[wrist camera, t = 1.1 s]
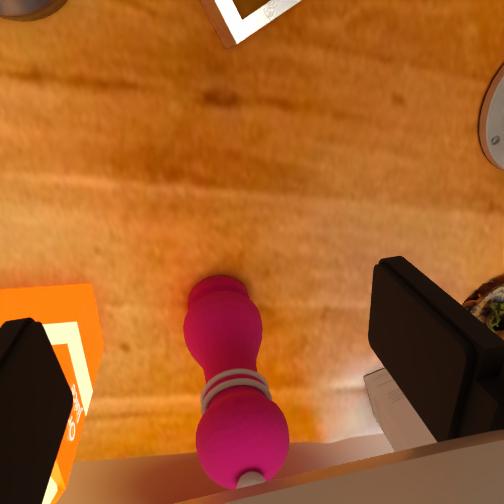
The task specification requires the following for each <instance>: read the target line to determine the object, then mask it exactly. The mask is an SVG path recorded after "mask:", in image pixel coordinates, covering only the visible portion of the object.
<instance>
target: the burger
mask: <svg viewBox="0 0 504 504" xmlns="http://www.w3.org/2000/svg"><path fill="white" fill-rule="evenodd" d="M476 292H478V293H479V295H478V297H479V299H477V300H470V301H466V302H464V304H462V306H463V307H464V308H465V309H467V310H468V311H469V312H470V313H471V314H473V315H474V316H475V317H476V318H477V319H479V320H480V321H481V322H482V323H484V324H485V325H486V326H487V327H488V328H490V329H491V330H492V331H493V332H494V333H496V334H497V335H498V336H499V337H501V338H502V339H503V340H504V283H503V284H499V283H496V282H494V281H491V280H489V283H486V284H484V283H483V284H482V286H481V287H480V288H479V289H478V291H476Z"/></svg>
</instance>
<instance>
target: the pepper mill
mask: <svg viewBox="0 0 504 504" xmlns="http://www.w3.org/2000/svg"><path fill="white" fill-rule="evenodd" d="M183 331H184V338H185V342H186V345H187V347H188V349H189V351H190V353H191V355H192V356H193V358H194V359H195V360H196V361H197V362H198V363H199V365H200V366H201V367H202V368H203V370H204V374H205V380H206V385H205V386H204V388H203V390H202V393H201V405H202V407H201V412H202V418H201V420H200V422H199V424H198V427H197V431H196V449H197V454H198V459H199V461H200V464H201V466H202V468H203V470H204V471H205V473H206V474H207V475H208V476H209V478H211V479H212V480H213V481H214V482H216V483H217V484H219V485H220V486H222V487H225V488H228V489H233V490H234V489H238V488H242V487H247V486H251V485H255V484H259V483H264V482H267V481H269V480H270V479H271V478H273V477H274V476H275V474H276V473H277V472H278V471H279V470H280V469H281V467H282V466H283V464H284V462H285V460H286V457H287V454H288V449H289V431H288V426H287V422H286V419H285V417H284V414H283V412H282V411H281V410H280V408H279V407H278V406H277V404H275V403H274V402H273V401H272V397H271V394H270V391H269V387H268V384H267V382H266V380H265V378H264V377H263V376H262V375H260V374H259V373H257V368H256V359H257V355H258V351H259V348H260V345H261V340H262V322H261V317H260V313H259V311H258V309H257V307H256V306H255V304H254V303H253V302H252V301H251V300H250V299H249V296H248V293H247V290H246V288H245V287H244V286H243V284H241V283H240V282H239V281H238V280H236V279H234V278H232V277H228V276H213V277H210V278H207V279H205V280H203V281H201V282H200V283H198V284H197V285H196V286H195V287H194V288H193V290H192V291H191V293H190V295H189V298H188V312H187V314H186V317H185V320H184V325H183Z"/></svg>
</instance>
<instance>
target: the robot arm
mask: <svg viewBox="0 0 504 504" xmlns="http://www.w3.org/2000/svg"><path fill="white" fill-rule="evenodd" d="M479 135H480V141H481V146H482V148H483V151H484V153H485V155H486V157H487V158H488V159H489V161H490V162H491V163H492V164H493V165H494V166H496V167H497V168H498V169H501V170H503V171H504V65H503V66H502V68H501V69H500V71H499V72H498V74H497V75H496V77H495V78H494V80H493V82H492V84H491V86H490V88H489V90H488V92H487V94H486V97H485V101H484V104H483V107H482V111H481V116H480V126H479ZM368 339H369V343H370V346H371V348H372V349H373V351H374V352H375V354H376V355H377V357H378V358H379V359H380V361H381V362H382V364H383V365H384V367H385V368H386V370H387V371H388V372H389V374H390V375H391V377H392V378H393V380H394V381H395V382H396V384H397V385H398V387H399V388H400V390H401V391H402V392H403V394H404V395H405V397H406V398H407V400H408V401H409V403H410V404H411V405H412V407H413V408H414V410H415V411H416V413H417V414H418V415H419V417H420V418H421V420H422V421H423V423H424V424H425V425H426V427H427V428H428V430H429V431H430V433H431V434H432V435H433V437H434V438H435V440H436V441H437V442H438V443H433V444H428V445H424V446H419V447H415V448H410V449H406V450H402V451H397V452H393V453H389V454H384V455H380V456H376V457H371V458H367V459H363V460H358V461H354V462H350V463H346V464H341V465H336V466H332V467H328V468H323V469H319V470H315V471H310V472H306V473H302V474H298V475H293V476H289V477H285V478H281V479H276V480H272V481H268V482H264V483H259V484H255V485H251V486H247V487H242V488H238V489H234V490H230V491H226V492H221V493H217V494H213V495H209V496H205V497H200V498H196V499H192V500H188V501H183V502H179V503H175V504H504V340H503V339H502V338H501V337H499V336H498V335H497V334H496V333H494V332H493V331H492V330H491V329H490V328H488V327H487V326H486V325H485V324H484V323H482V322H481V321H480V320H479V319H477V318H476V317H475V316H474V315H473V314H471V313H470V312H469V311H468V310H467V309H465V308H464V307H463V306H462V305H461V304H459V303H458V302H457V301H456V300H454V299H453V298H452V297H451V296H450V295H448V294H447V293H446V292H445V291H444V290H442V289H441V288H440V287H439V286H438V285H436V284H435V283H434V282H433V281H431V280H430V279H429V278H428V277H427V276H425V275H424V274H423V273H422V272H421V271H419V270H418V269H417V268H416V267H415V266H413V265H412V264H411V263H410V262H408V261H407V260H406V259H405V258H404V257H402V256H395V257H389V258H383V259H381V260H380V261H379V264H377V265H375V266H374V270H373V282H372V295H371V307H370V319H369V331H368ZM72 408H73V394H72V391H71V389H70V386H69V384H68V382H67V379H66V377H65V375H64V372H63V370H62V368H61V366H60V363H59V361H58V359H57V356H56V354H55V352H54V349H53V347H52V345H51V343H50V340H49V338H48V336H47V333H46V331H45V329H44V326H43V325H42V323H41V322H39V321H36V322H35V320H34V319H33V318H31V317H27V318H21V319H15V320H9V321H5V322H4V323H3V324H2V326H1V327H0V504H42V502H43V499H44V496H45V493H46V489H47V486H48V483H49V480H50V477H51V474H52V471H53V467H54V464H55V461H56V458H57V455H58V452H59V449H60V445H61V442H62V439H63V436H64V433H65V430H66V426H67V423H68V420H69V417H70V414H71V411H72Z"/></svg>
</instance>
